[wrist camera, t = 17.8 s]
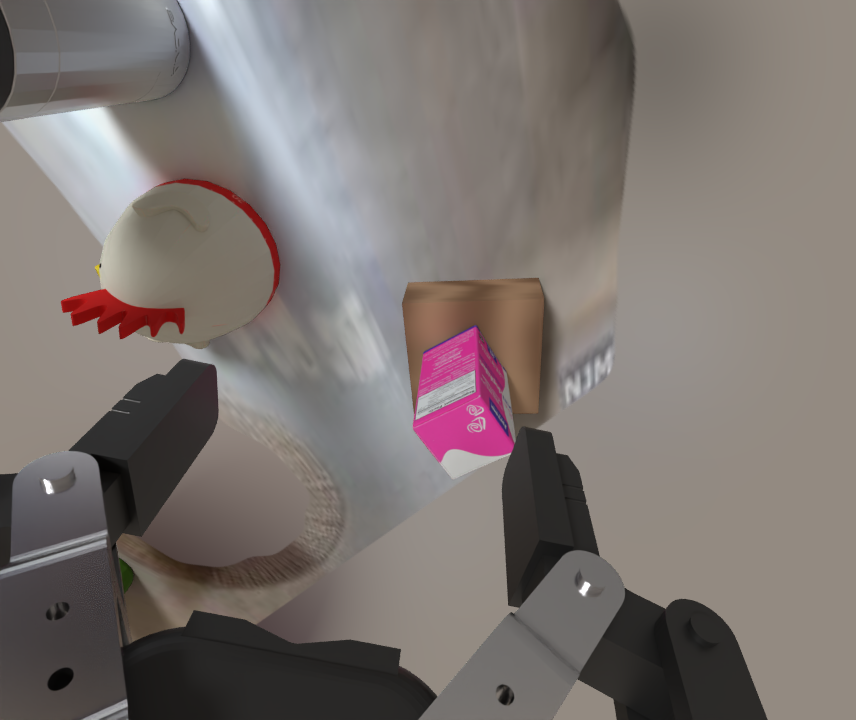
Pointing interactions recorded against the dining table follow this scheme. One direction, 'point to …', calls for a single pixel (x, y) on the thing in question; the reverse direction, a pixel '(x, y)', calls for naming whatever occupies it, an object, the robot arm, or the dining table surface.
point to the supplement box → (464, 404)
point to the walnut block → (481, 327)
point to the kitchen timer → (182, 267)
